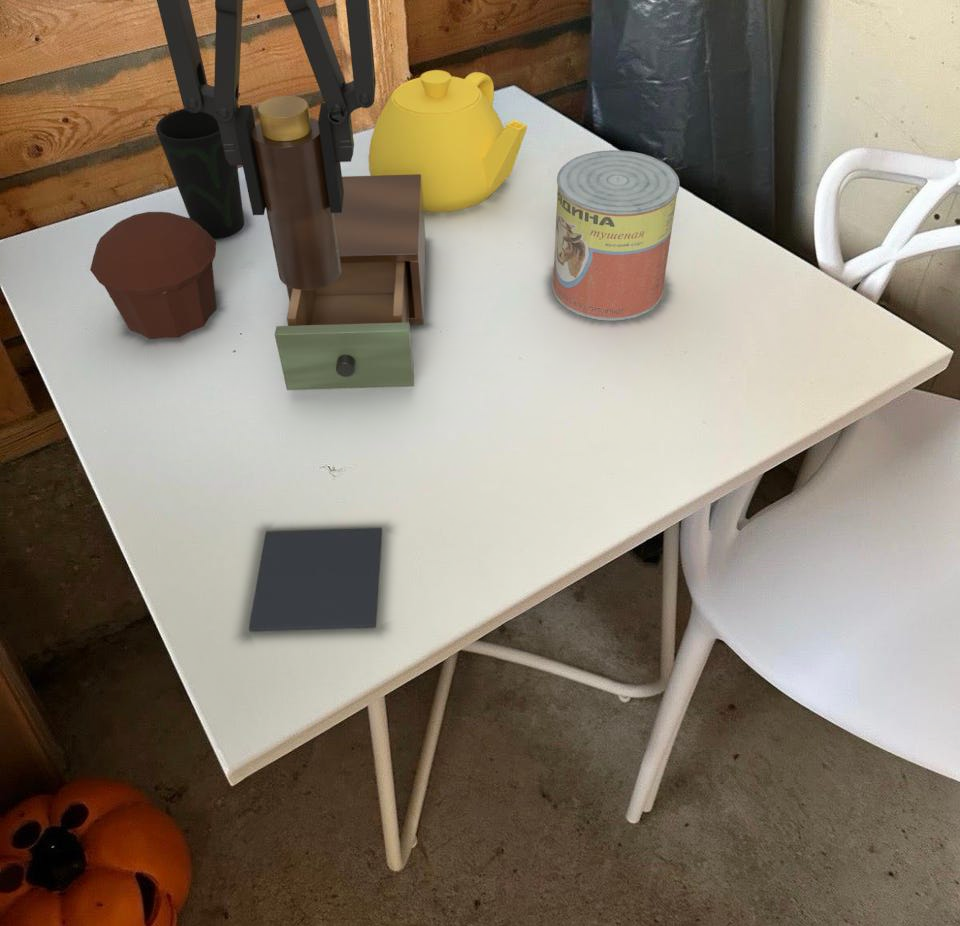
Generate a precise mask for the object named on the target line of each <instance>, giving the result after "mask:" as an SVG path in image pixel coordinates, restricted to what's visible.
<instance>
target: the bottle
mask: <svg viewBox="0 0 960 926" xmlns="http://www.w3.org/2000/svg"><path fill="white" fill-rule="evenodd" d="M309 107H310V106H309V103H308V101H307V100H306V99H304V98H302V97H299V96H296V95H279V96H272V97H270V98H267V99H265V100H263V101H262V102H260V104H259V105H258V107H257V112H258V117H259V122H258V123H257V124H255V127H254V128H253V130H252V139H253V144H254V150H255V155H256V160H257V165H258V170H259V175H260V180H261V185H262V191H263V196H264V201H265V206H266V208H265V211H266V216H267V221H268V227H269V231H270V236H271V242H272V246H273V247H272V248H273V251H274V258H275V262H276V266H277V272H278V277H279V280H280V281H281V283H283V285H285V286H286V285H287V286H288V287H291V288H294V289H299V290H314V289H319V288H323V287H325V286H328V285H330V284H332V283H333V282H335V281H336V280H337V279H338V278H339V276H340V274H341V271H342V268H341V260H340V253H339V246H338V238H337V231H336V224H335V216H334V213H331V212H330V204H329V197H328V190H327V183H326V176H325V169H324V161H323V154H322V147H321V140H320V133H319V126H318V119H315V118H314V117H311V116H310V108H309ZM287 286H286V287H287Z"/></svg>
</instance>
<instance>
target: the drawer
mask: <svg viewBox="0 0 960 926" xmlns="http://www.w3.org/2000/svg"><path fill="white" fill-rule="evenodd" d="M341 268H342V271H341V274H340V276H339V278H338V279H337V280H336V281H335V282H333V283H332V284H330V285H328V286H325V287H323V288H319V289H314V290H299V289H294V288H293V289H292V295H291V300H290V301H289V305H288V310H287V315H286V322H287V325H277V326H275V331H274V338H275V343H276V348H277V352H278V357H279V361H280V365H281V369H282V375H283V379H284V384H285V387H286V390H287V391H300V390H302V391H303V390H336V389H337V390H339V389H367V388H369V389H373V388H400V387H401V388H402V387H403V388H404V387H414V386H415V372H414V371H415V370H414V359H413V349H412V337H411V327H410V326H411V325H409V309H410V288H409V276H408V265H407V261H398V262H364V263H341Z"/></svg>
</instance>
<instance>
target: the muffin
mask: <svg viewBox="0 0 960 926" xmlns="http://www.w3.org/2000/svg"><path fill="white" fill-rule="evenodd" d="M216 252H217V241H216V239H213V238H212V237H211V236H210V234H209V233H208V232H207V231H206V230H204V229H203V228H202V227H201V226H200V225H199V224H198V223H197V222H195V221H193V220H192V219H190V217H186V216H183V215H179V214H176V213H172V212H168V211H167V212H166V211H146V212H141V213H136V214H133V215H131V216H129V217H126V218H124V219H122V220H120V221H118V222H116V223H115V224H114V225H113V226H112V227H110V229H109V230H107V231H106V232H105V233H104V234H103V235H102V236H101V237H100V238H99V239H98V242H97V244H96V246H95V250H94V252H93V253H94V254H93V256H92V261H91V264H90V270H89V271H90V272H91V273H92V275H93V276H94V277H95V279H96V280H97V281H98V283H99V284H101V285H102V286H103V287H104V289H105V290H106V292H107V294H108V295H109V297H110V299H111V300H112V302H113V304H114V306H115V307H116V309H117V311H118V312H119V314H120V316H121V318H122V319H123V321H124V322H125V324H126V326H127V328H128V329H129V331H131V332H135V333H137V334H139V335H141V336H143V337H146V338H147V339H149V340H155V339H163V338H165V339H167V338H174V339H175V338H180V337H182V336H184V335H186V334H189V333H190V332H192V331H196V330H197V329H200V328H203V327H205V325H206V323H207V322H208V320H209V319H210V317H211V316H212V315H213V313H215V312H216V310H217V302H216V292H215V291H216V289H215V277H214V265H213V261H214V260H215V258H216Z"/></svg>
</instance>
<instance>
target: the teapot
mask: <svg viewBox="0 0 960 926" xmlns="http://www.w3.org/2000/svg"><path fill="white" fill-rule="evenodd" d="M494 98H495V85H494V81H493V80H492V77H490V75H488V74H486V73H483V72H480V71H474V72H471V73H468V75H466V77H465V78H462V77H458V76H452V75H451V74H450V72H448V71H445V70H441V69H433V70H429V71H425V72H423V73H422V74H421V75H420V77H416V78H413V79H410V80H408V81H405V82H403V83H402V84H400V85H399V86H398V87H397V88H395V90H394V91H393V92H392V93H391V95H390V96H389V97H388V100H387V101H386V103H385V105H384V107H383V109H382V111H381V112H380V114H379V117H378V119H377V121H376V122H375V125H374V128H373V131H372V135H371V138H370V143H369V149H368V150H369V151H368V172H369V176H379V175H413V174H421V182H422V195H423V210H424V212H430V213H445V212H454V211H460V210H464V209H467V208H470V207H474V206H476V205H479V204H480V203H482V202H484V201H485V200H487V199H488V198H489V197H491V196H492V195H493V194H494V193H495V192H496V191H497V190H498V189H499V188H500V187H501V186H502V184H503V183H504V182H505V181H506V179H507V178H510V177H511V174H512V171H513V168H514V165H515V162H516V160H517V157H518V154H519V152H520V149H521V146H522V144H523V141H524V138H525V135H526V132H527V130H528V125H527V124H525V123H522V122H520V121H518V120H516V119H513V120H511V121H509V122H508V123H506V124H503V122H502V120H501V118H500V117H499V115H498V113H497V112H496V110H495V109H494V107H493V106H494ZM504 125H505V127H504Z"/></svg>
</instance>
